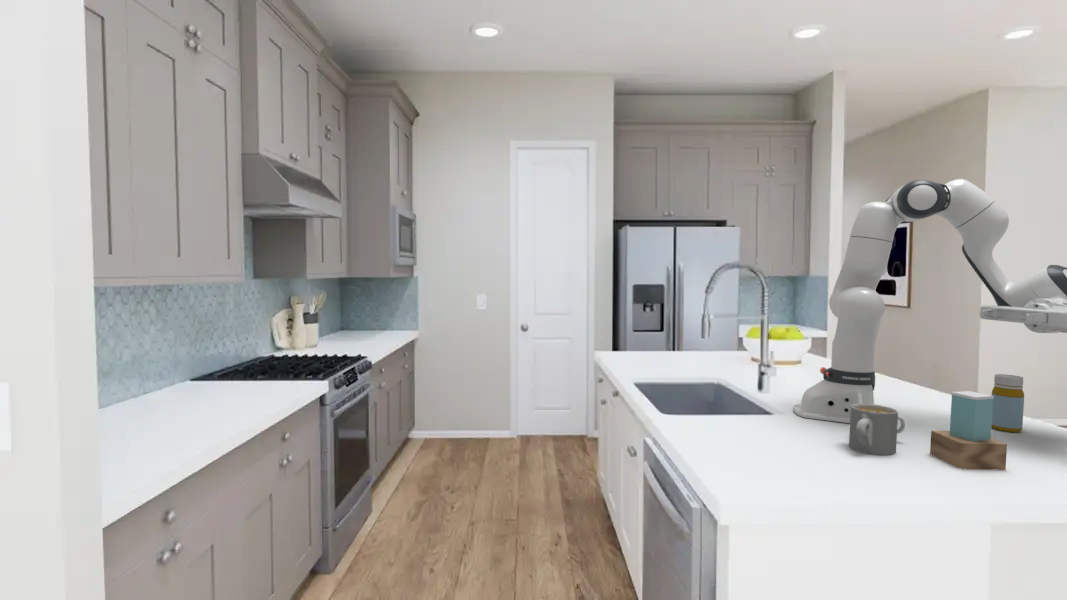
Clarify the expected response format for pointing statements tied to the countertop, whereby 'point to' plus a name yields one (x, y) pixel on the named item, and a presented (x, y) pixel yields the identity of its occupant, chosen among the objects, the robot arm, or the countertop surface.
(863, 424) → the coffee mug
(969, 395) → the tea tin
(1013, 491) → the countertop surface
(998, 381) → the bottle
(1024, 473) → the countertop surface
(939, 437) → the walnut block
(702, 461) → the countertop surface
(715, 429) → the countertop surface
